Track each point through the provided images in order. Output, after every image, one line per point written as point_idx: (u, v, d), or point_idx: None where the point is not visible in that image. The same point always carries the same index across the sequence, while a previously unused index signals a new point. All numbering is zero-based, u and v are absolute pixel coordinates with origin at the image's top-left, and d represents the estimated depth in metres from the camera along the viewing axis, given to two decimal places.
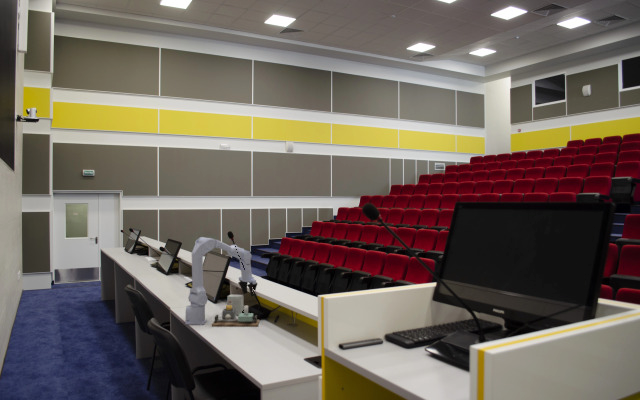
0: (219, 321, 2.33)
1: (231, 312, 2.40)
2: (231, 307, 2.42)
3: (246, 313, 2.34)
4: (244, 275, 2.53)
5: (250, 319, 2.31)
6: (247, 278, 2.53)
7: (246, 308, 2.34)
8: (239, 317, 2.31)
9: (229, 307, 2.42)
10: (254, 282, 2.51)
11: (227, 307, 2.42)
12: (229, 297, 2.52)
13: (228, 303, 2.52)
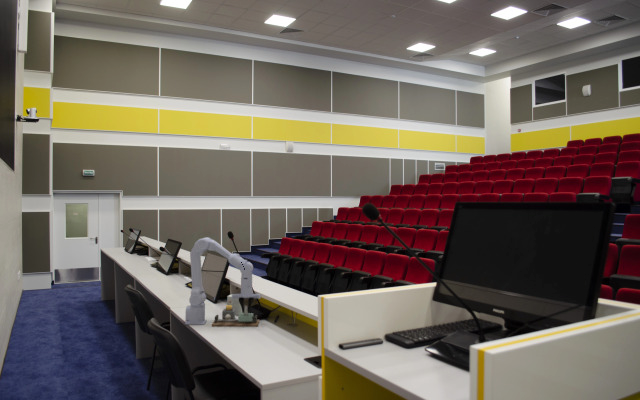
0: (219, 321, 2.33)
1: (231, 312, 2.40)
2: (231, 307, 2.42)
3: (246, 313, 2.34)
4: None
5: (250, 319, 2.31)
6: None
7: (246, 308, 2.34)
8: (239, 317, 2.31)
9: (229, 307, 2.42)
10: (232, 296, 2.34)
11: (227, 307, 2.42)
12: (229, 297, 2.52)
13: (228, 303, 2.52)
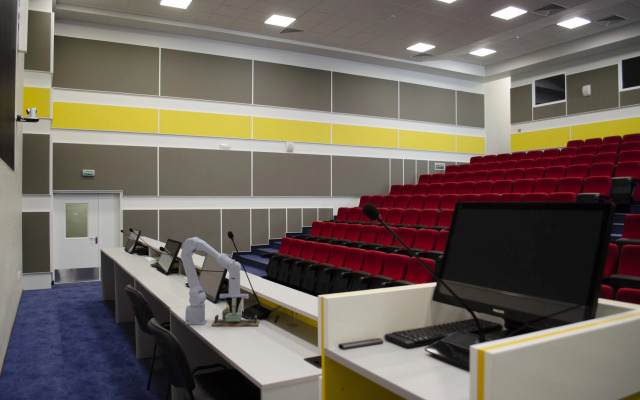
0: (219, 321, 2.33)
1: None
2: None
3: (234, 313, 2.33)
4: None
5: (238, 319, 2.31)
6: None
7: (234, 308, 2.33)
8: (227, 317, 2.31)
9: None
10: (220, 296, 2.34)
11: (227, 307, 2.42)
12: None
13: None
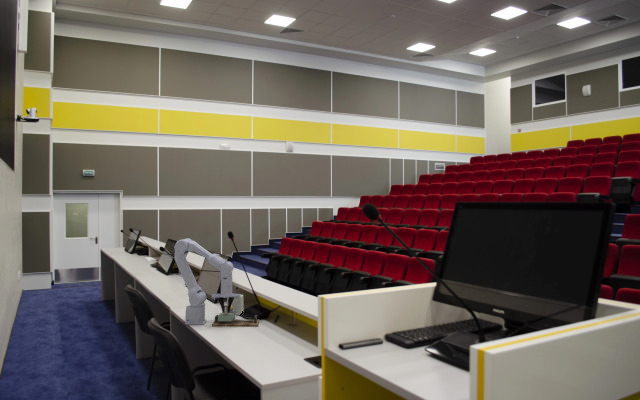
0: (219, 321, 2.33)
1: (231, 312, 2.40)
2: (231, 307, 2.42)
3: (226, 313, 2.33)
4: None
5: (230, 319, 2.31)
6: None
7: (226, 308, 2.33)
8: (219, 317, 2.30)
9: None
10: (212, 296, 2.34)
11: None
12: None
13: None
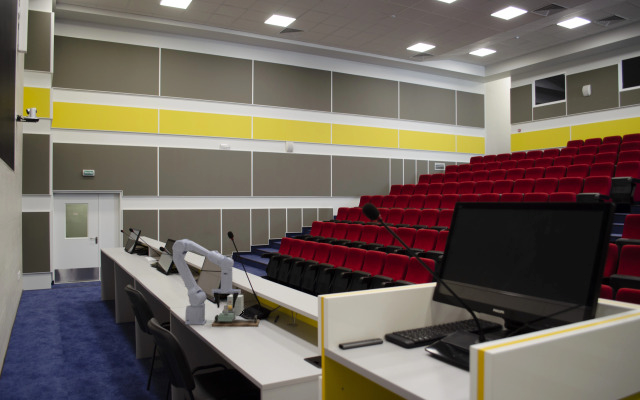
0: (219, 321, 2.33)
1: (231, 312, 2.40)
2: (231, 307, 2.42)
3: (226, 313, 2.33)
4: None
5: (230, 319, 2.31)
6: None
7: (226, 308, 2.33)
8: (219, 317, 2.30)
9: (229, 307, 2.42)
10: (212, 291, 2.34)
11: None
12: (229, 297, 2.52)
13: (228, 303, 2.52)
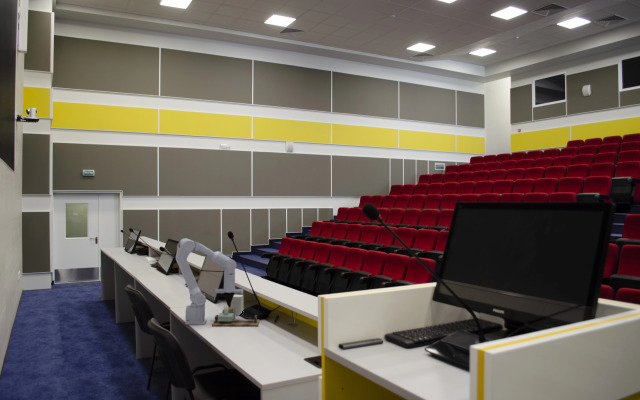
0: (219, 321, 2.33)
1: (231, 312, 2.40)
2: (231, 308, 2.42)
3: (226, 313, 2.33)
4: None
5: (230, 319, 2.31)
6: None
7: (226, 308, 2.33)
8: (219, 317, 2.30)
9: (229, 308, 2.42)
10: None
11: None
12: None
13: None
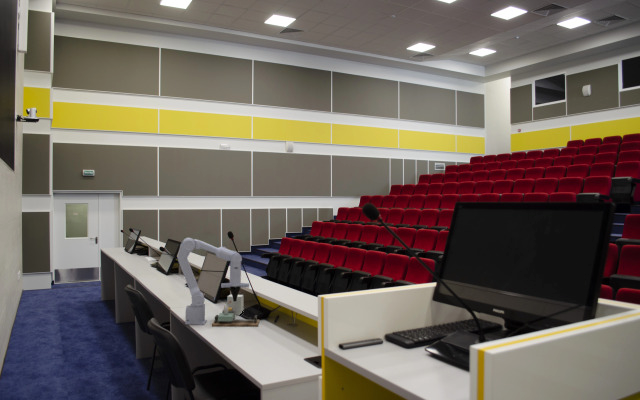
0: (219, 321, 2.33)
1: (231, 312, 2.40)
2: (231, 309, 2.42)
3: (226, 313, 2.33)
4: None
5: (230, 319, 2.31)
6: None
7: (226, 308, 2.33)
8: (219, 317, 2.30)
9: (229, 309, 2.42)
10: (221, 285, 2.40)
11: None
12: (229, 297, 2.52)
13: (228, 303, 2.52)
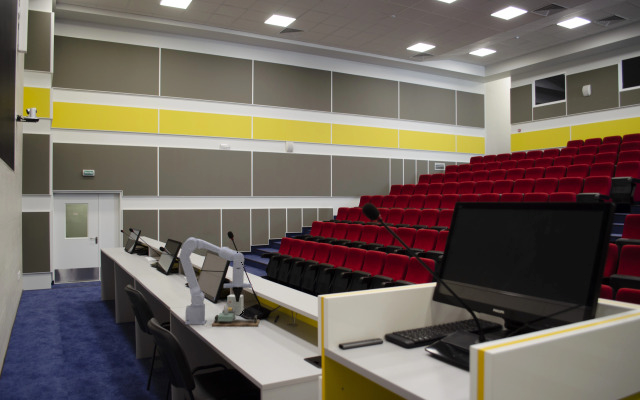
0: (219, 321, 2.33)
1: (231, 312, 2.40)
2: (231, 309, 2.42)
3: (226, 313, 2.33)
4: None
5: (230, 319, 2.31)
6: None
7: (226, 308, 2.33)
8: (219, 317, 2.30)
9: (229, 309, 2.42)
10: (224, 285, 2.39)
11: None
12: (229, 297, 2.52)
13: (228, 303, 2.52)
